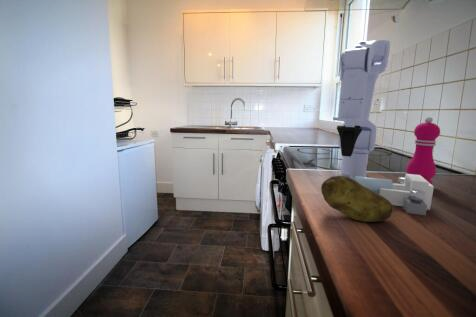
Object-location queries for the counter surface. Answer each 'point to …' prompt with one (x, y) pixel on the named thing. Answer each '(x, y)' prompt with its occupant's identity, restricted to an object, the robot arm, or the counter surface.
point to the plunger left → (401, 180)
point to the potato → (355, 200)
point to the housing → (401, 193)
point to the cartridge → (371, 182)
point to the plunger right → (416, 196)
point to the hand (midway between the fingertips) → (346, 153)
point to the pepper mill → (424, 150)
